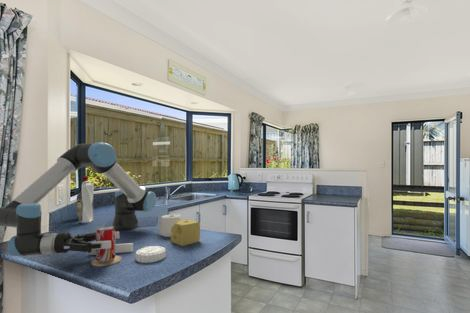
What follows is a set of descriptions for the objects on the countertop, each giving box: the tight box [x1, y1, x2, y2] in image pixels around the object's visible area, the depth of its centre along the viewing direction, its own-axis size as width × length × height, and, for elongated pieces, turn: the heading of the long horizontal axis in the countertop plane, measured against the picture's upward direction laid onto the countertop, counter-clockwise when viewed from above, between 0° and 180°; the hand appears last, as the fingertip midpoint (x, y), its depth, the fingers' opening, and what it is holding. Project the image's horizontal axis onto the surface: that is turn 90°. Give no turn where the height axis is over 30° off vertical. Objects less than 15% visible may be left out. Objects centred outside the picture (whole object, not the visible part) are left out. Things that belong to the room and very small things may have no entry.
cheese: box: [170, 219, 201, 247], centre depth 134 cm, size 10×11×10 cm
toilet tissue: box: [158, 213, 182, 238], centre depth 148 cm, size 11×12×10 cm
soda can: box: [95, 225, 116, 263], centre depth 108 cm, size 7×7×13 cm
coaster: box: [91, 255, 122, 268], centre depth 108 cm, size 11×11×1 cm
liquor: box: [76, 176, 94, 220], centre depth 195 cm, size 9×9×30 cm
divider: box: [88, 242, 134, 256], centre depth 119 cm, size 18×1×4 cm, turn 101°
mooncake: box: [135, 245, 167, 264], centre depth 112 cm, size 12×12×4 cm
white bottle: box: [78, 180, 95, 224], centre depth 182 cm, size 8×8×28 cm
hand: (115, 239), depth 109 cm, fingers open, 13 cm apart
